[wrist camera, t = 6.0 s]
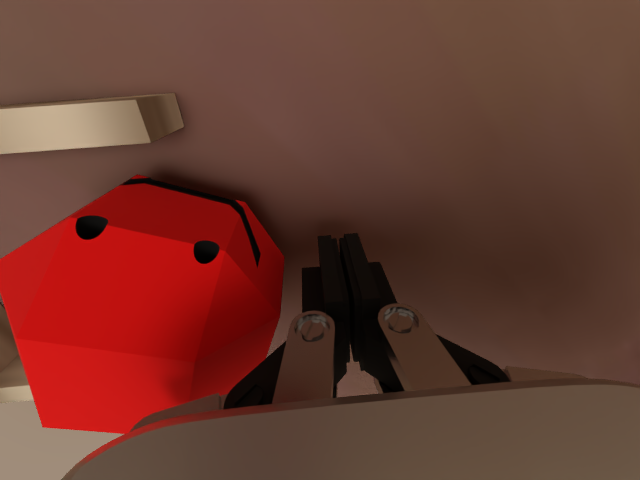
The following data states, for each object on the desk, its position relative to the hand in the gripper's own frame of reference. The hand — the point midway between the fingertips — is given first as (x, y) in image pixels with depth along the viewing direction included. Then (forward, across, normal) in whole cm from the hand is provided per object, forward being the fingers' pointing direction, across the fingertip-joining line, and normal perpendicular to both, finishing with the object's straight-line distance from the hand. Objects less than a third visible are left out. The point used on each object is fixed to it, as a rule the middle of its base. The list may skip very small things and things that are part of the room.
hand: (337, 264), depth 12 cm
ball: (+3, +7, 0) cm, 7 cm away
